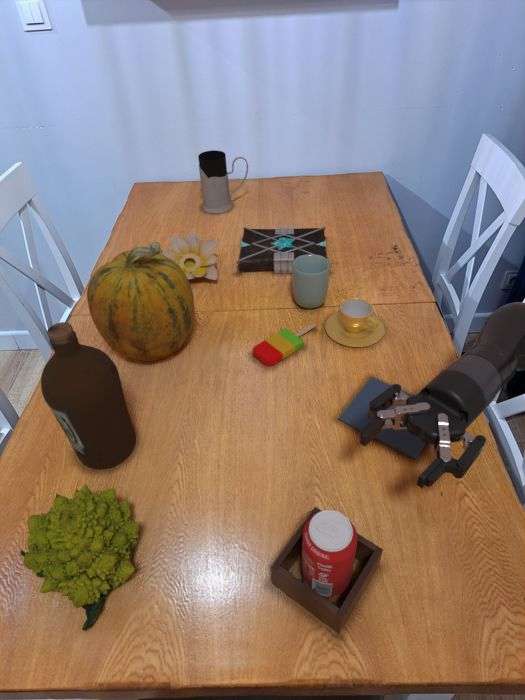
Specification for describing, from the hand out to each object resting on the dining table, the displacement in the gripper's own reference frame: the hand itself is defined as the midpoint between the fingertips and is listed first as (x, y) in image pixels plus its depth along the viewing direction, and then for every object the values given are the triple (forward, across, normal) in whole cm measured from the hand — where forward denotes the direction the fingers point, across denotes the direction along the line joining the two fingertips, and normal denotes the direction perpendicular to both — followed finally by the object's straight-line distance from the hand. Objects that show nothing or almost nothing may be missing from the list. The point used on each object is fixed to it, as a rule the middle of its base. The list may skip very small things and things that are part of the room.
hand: (389, 461), depth 60 cm
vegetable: (+32, +22, -14) cm, 41 cm away
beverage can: (+11, 0, -14) cm, 18 cm away
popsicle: (-18, +35, -14) cm, 42 cm away
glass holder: (-49, +92, -14) cm, 105 cm away
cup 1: (-31, +42, -14) cm, 54 cm away
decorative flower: (-18, +69, -14) cm, 73 cm away
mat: (-17, +10, -14) cm, 24 cm away
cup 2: (-30, +29, -14) cm, 44 cm away
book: (-40, +60, -14) cm, 74 cm away
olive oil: (+21, +39, -14) cm, 46 cm away
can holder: (+11, 0, -14) cm, 18 cm away
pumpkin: (+2, +54, -14) cm, 56 cm away
